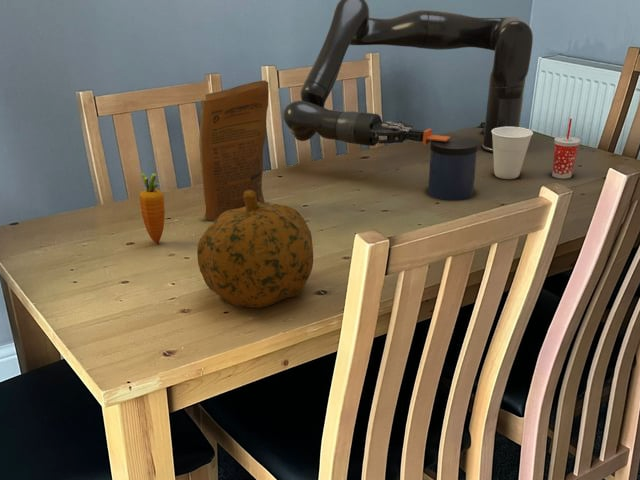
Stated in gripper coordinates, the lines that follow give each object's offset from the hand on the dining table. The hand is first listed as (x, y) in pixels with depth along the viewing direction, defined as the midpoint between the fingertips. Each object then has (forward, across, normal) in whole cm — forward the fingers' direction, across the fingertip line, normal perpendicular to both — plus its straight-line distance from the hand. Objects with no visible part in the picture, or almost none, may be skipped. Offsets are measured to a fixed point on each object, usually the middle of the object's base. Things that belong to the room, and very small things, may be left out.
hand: (425, 136), depth 186 cm
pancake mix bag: (-30, +35, -13) cm, 48 cm away
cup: (+15, -19, -13) cm, 27 cm away
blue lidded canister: (+7, 0, -12) cm, 14 cm away
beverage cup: (+27, -25, -13) cm, 39 cm away
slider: (+3, 0, -2) cm, 3 cm away
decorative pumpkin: (-3, +69, -13) cm, 70 cm away
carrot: (-35, +58, -13) cm, 69 cm away
